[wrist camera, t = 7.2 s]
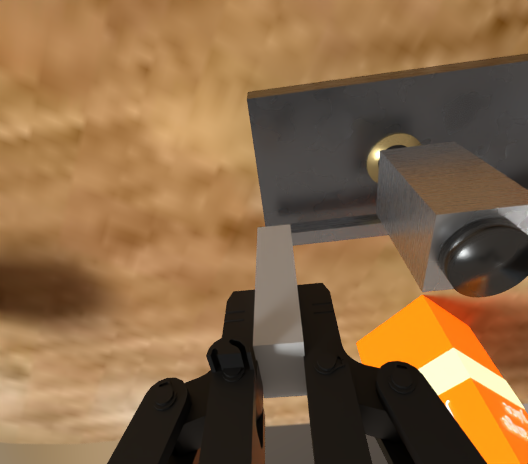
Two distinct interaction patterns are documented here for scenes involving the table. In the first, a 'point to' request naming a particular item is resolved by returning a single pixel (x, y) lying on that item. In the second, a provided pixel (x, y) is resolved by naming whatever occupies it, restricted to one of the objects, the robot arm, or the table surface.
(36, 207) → the table surface
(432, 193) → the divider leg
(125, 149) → the table surface
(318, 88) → the plate
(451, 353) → the orange juice
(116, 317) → the table surface
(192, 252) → the table surface
